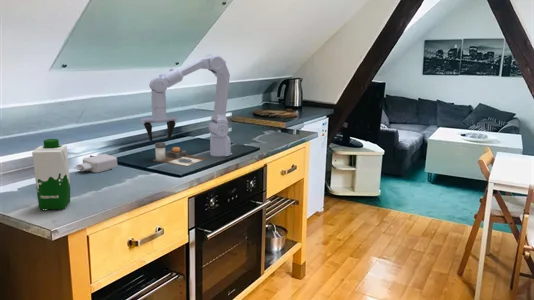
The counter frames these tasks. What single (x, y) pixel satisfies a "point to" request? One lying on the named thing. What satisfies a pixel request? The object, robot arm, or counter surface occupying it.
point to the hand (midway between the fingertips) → (160, 139)
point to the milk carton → (52, 175)
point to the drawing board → (181, 158)
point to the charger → (98, 163)
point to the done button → (176, 149)
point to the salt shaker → (160, 151)
